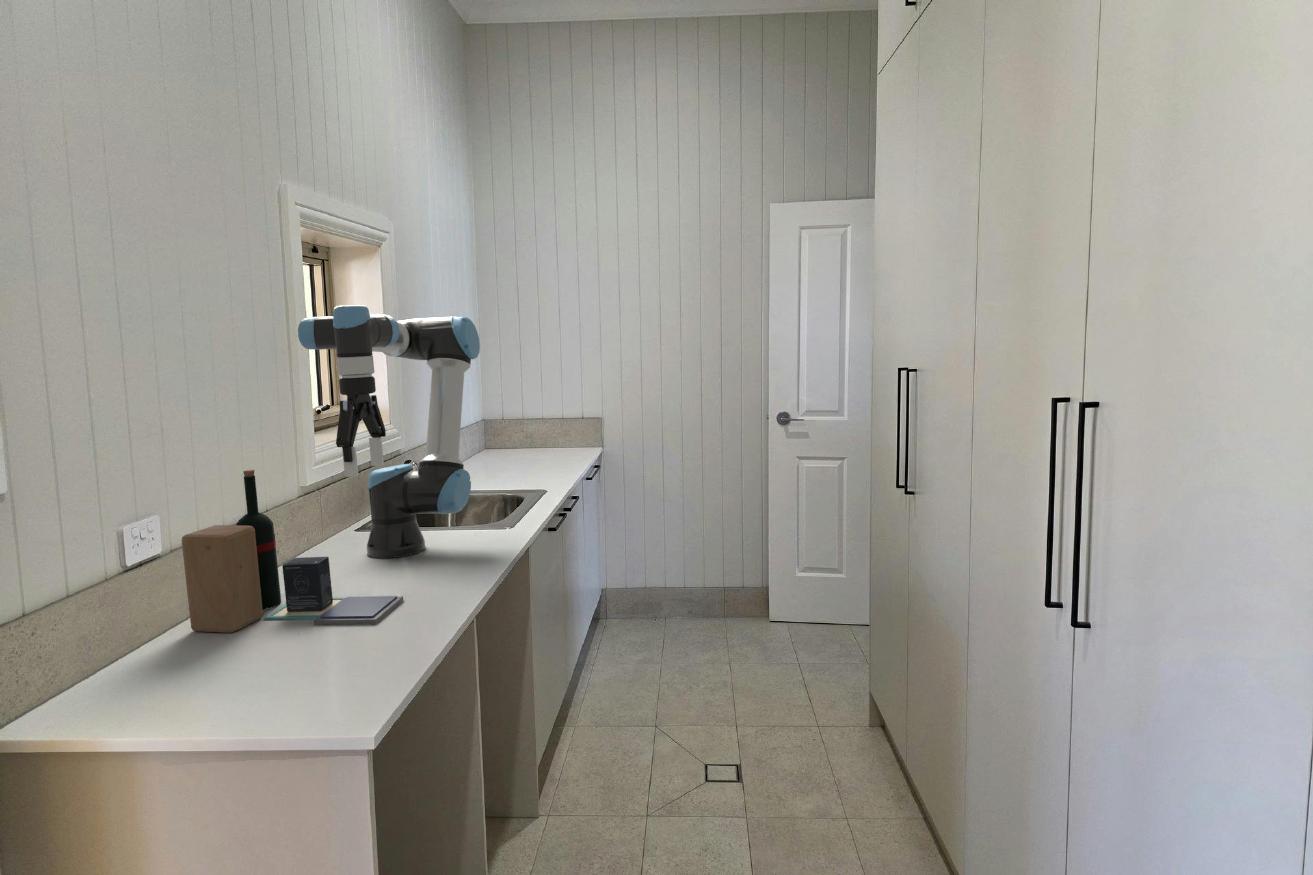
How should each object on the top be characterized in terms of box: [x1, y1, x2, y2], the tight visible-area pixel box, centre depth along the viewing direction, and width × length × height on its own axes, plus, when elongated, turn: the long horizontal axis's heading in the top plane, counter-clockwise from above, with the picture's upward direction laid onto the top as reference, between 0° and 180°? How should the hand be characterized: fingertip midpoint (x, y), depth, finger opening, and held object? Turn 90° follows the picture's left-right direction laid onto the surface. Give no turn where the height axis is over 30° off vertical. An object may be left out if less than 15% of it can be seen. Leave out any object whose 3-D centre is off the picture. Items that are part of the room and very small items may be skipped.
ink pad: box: [313, 595, 404, 626], centre depth 180 cm, size 15×13×1 cm
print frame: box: [263, 596, 345, 621], centre depth 183 cm, size 13×14×1 cm
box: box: [281, 556, 333, 612], centre depth 183 cm, size 8×6×11 cm
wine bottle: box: [235, 469, 282, 611], centre depth 187 cm, size 8×10×30 cm
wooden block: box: [181, 524, 264, 634], centre depth 174 cm, size 10×10×20 cm
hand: (365, 471), depth 191 cm, fingers open, 13 cm apart
